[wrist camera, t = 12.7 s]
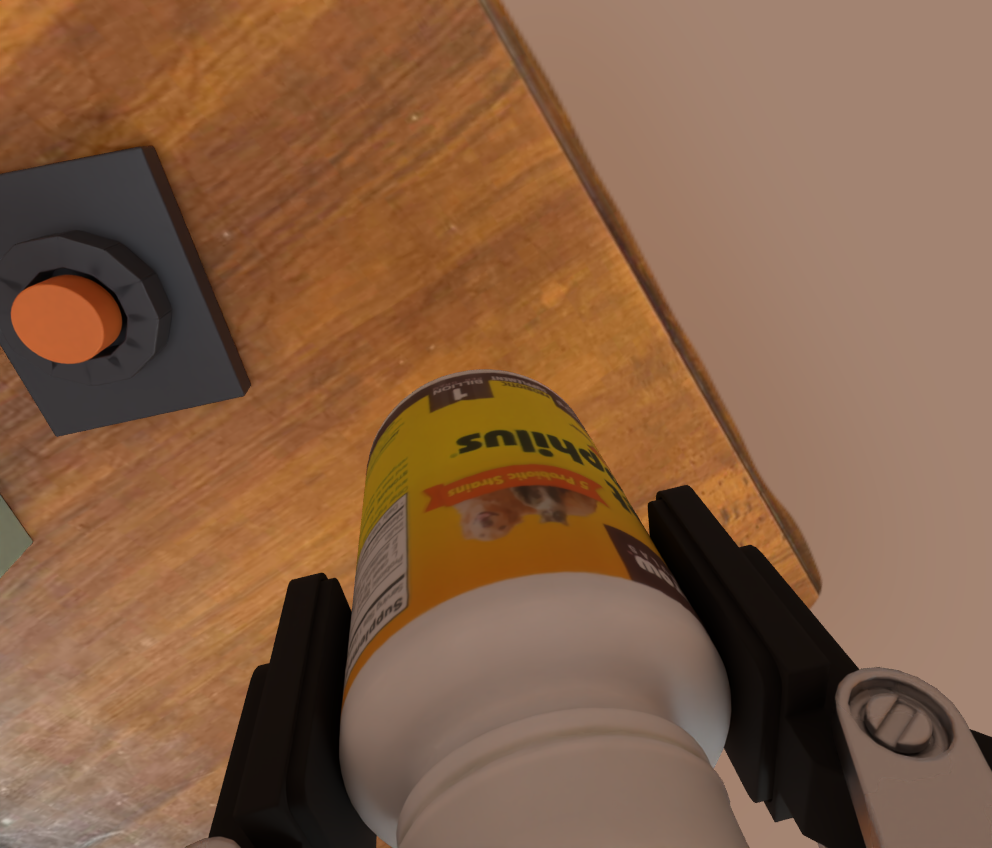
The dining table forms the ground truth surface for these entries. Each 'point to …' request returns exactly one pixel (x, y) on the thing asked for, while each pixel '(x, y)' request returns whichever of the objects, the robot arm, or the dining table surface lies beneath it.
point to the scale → (11, 538)
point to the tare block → (115, 291)
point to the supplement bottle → (522, 641)
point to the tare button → (66, 318)
